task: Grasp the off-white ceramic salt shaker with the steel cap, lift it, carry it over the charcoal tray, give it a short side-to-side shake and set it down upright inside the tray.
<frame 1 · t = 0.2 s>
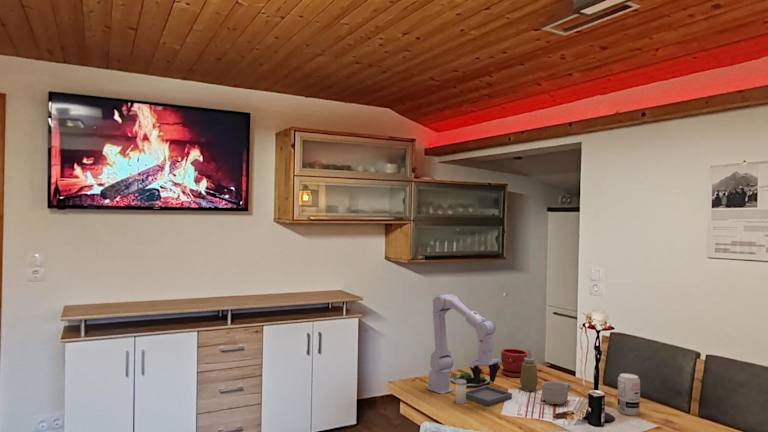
hand: (484, 382, 224), 10 cm above the table, tool pointing down, fingers open, 7 cm apart
plant pot: (514, 375, 271), on the table
supplement can: (628, 413, 218), on the table
teacup: (557, 402, 230), on the table
tray: (487, 398, 233), on the table
salad plate: (470, 383, 256), on the table
salt shaker: (460, 402, 228), on the table
squeeze bottle: (528, 390, 247), on the table
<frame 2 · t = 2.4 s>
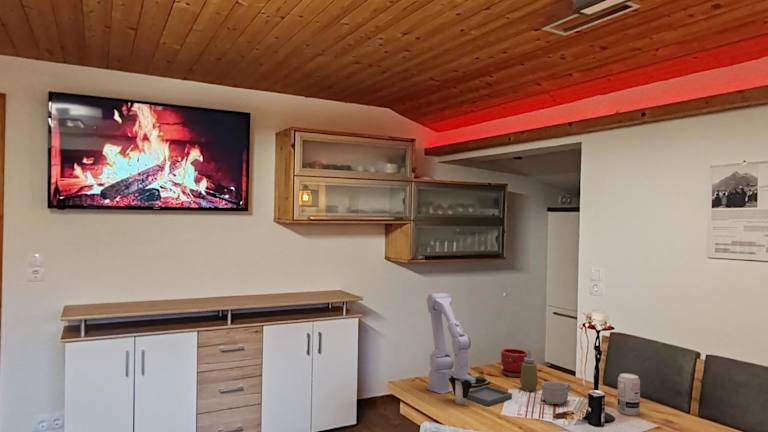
hand: (460, 396, 228), 3 cm above the table, tool pointing down, fingers closed on salt shaker, 5 cm apart
salt shaker: (460, 402, 228), on the table, touching gripper
everything else where it was.
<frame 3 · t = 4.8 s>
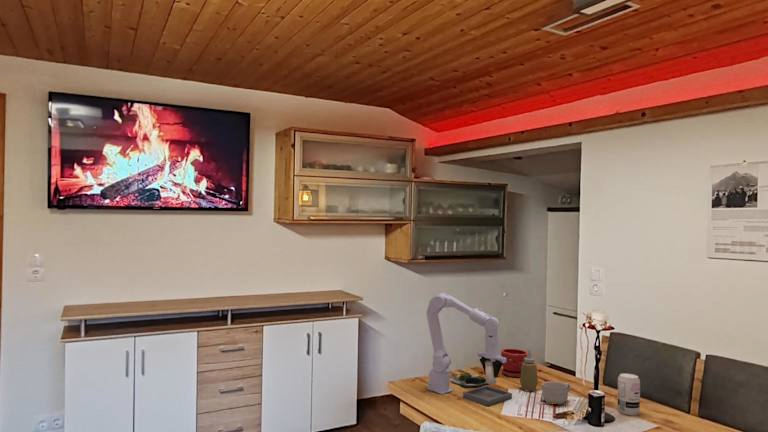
hand: (491, 375, 235), 9 cm above the table, tool pointing down, fingers closed on salt shaker, 5 cm apart
salt shaker: (491, 382, 235), point 7 cm above the table, touching gripper
everything else where it was.
when the fingers open (5 cm above the table, at t = 7.5 s): salt shaker drops 1 cm, resting on tray.
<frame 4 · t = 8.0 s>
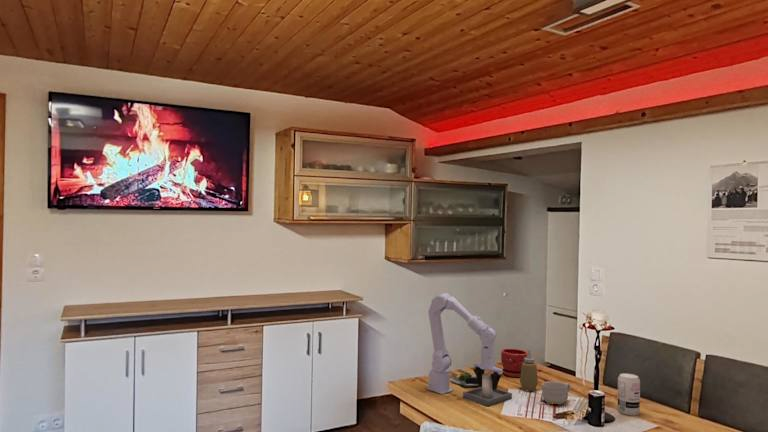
hand: (487, 387, 234), 5 cm above the table, tool pointing down, fingers open, 7 cm apart
salt shaker: (487, 396, 233), point 1 cm above the table, touching tray
everything else where it was.
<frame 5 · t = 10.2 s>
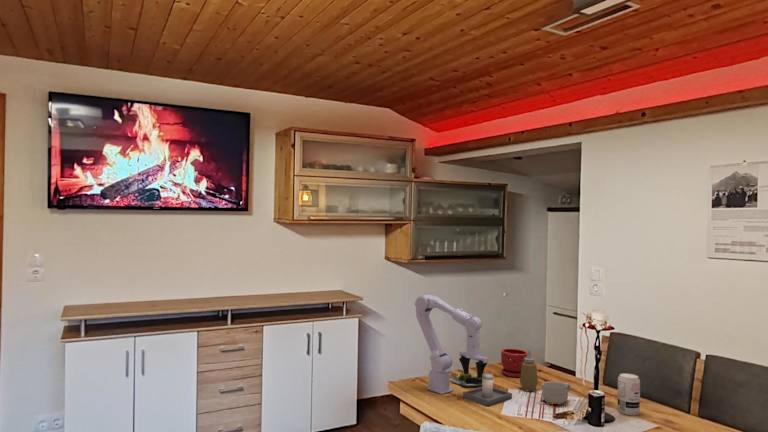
hand: (472, 375, 235), 9 cm above the table, tool pointing down, fingers open, 7 cm apart
nothing on the table moved.
at the end: salt shaker inside the target area on the tray (0.1 cm from its centre), point 1.1 cm above the tray's base; salt shaker tilted 2°; the gripper is holding nothing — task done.
